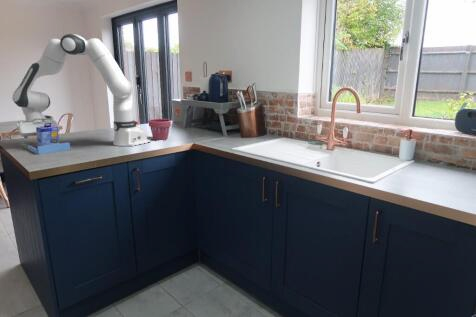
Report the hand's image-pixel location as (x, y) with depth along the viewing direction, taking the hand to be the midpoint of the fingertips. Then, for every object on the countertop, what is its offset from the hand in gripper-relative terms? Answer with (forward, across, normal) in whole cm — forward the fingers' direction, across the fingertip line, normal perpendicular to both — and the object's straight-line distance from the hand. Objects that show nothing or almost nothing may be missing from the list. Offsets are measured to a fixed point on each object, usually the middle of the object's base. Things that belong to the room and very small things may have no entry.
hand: (43, 139), depth 186 cm
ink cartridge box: (+5, +1, +1) cm, 6 cm away
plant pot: (+20, +62, -13) cm, 67 cm away
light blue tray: (+3, 0, +4) cm, 5 cm away
